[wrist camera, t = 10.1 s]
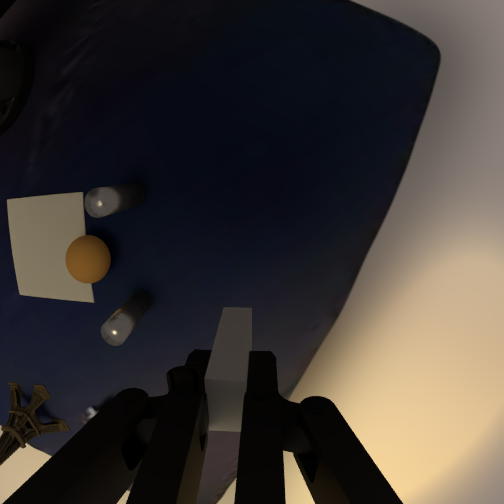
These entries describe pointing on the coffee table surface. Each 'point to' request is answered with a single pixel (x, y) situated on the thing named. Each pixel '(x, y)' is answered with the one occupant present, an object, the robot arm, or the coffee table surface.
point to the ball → (88, 259)
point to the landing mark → (47, 245)
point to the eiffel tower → (25, 421)
